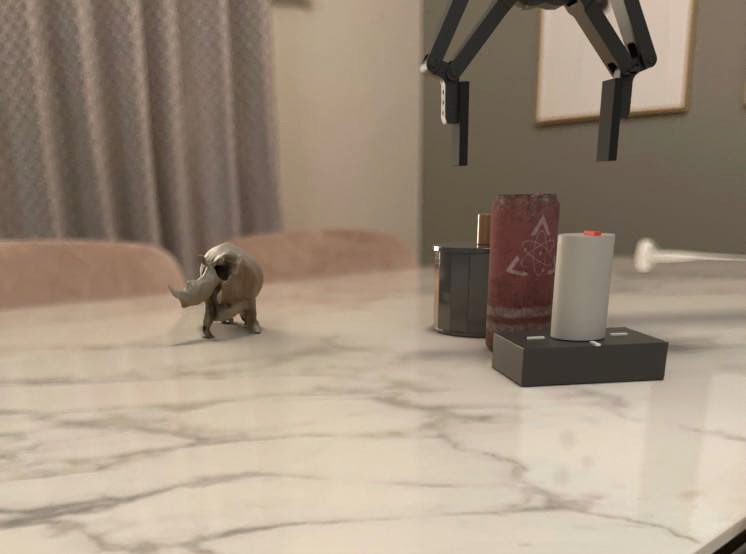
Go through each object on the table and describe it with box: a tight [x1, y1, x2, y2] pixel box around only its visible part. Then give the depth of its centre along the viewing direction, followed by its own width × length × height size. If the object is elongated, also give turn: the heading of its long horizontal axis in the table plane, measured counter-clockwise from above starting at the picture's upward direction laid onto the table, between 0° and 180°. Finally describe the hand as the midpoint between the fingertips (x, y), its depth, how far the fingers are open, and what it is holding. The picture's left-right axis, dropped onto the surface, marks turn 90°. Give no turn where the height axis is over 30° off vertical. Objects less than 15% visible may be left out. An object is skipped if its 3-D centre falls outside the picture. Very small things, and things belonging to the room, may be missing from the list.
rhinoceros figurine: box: [167, 241, 265, 339], centre depth 94 cm, size 8×14×15 cm
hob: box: [491, 326, 669, 387], centre depth 71 cm, size 12×9×3 cm
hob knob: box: [551, 230, 616, 341], centre depth 69 cm, size 4×4×8 cm
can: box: [485, 192, 561, 352], centre depth 79 cm, size 6×6×14 cm
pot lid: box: [431, 212, 491, 253], centre depth 90 cm, size 11×11×4 cm
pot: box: [433, 251, 490, 338], centre depth 92 cm, size 11×16×8 cm, turn 8°
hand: (533, 164), depth 76 cm, fingers open, 13 cm apart
